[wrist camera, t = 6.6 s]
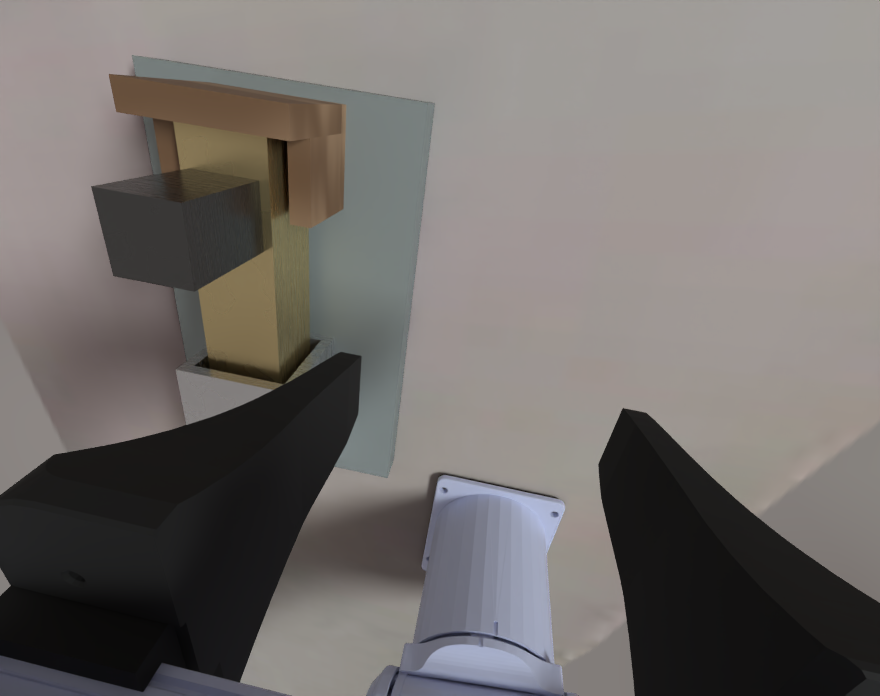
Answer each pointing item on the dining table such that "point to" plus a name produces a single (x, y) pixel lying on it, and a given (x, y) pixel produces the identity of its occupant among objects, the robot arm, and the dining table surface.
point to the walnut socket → (250, 132)
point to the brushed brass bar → (220, 246)
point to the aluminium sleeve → (233, 382)
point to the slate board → (348, 245)
